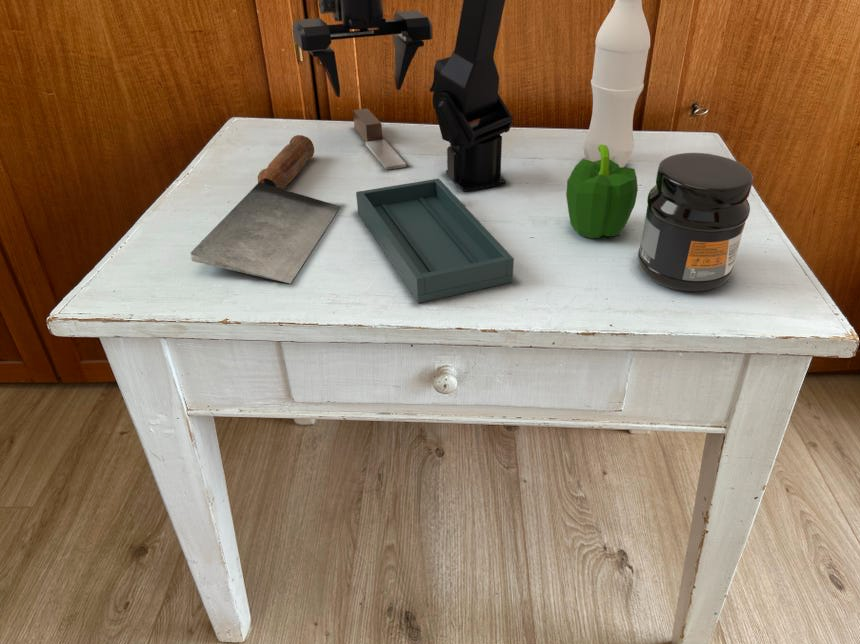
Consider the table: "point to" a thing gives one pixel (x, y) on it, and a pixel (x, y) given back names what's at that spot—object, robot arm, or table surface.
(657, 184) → the supplement container
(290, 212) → the meat cleaver
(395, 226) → the tray
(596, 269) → the table surface
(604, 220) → the bell pepper
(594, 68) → the water bottle
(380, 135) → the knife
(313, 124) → the table surface
